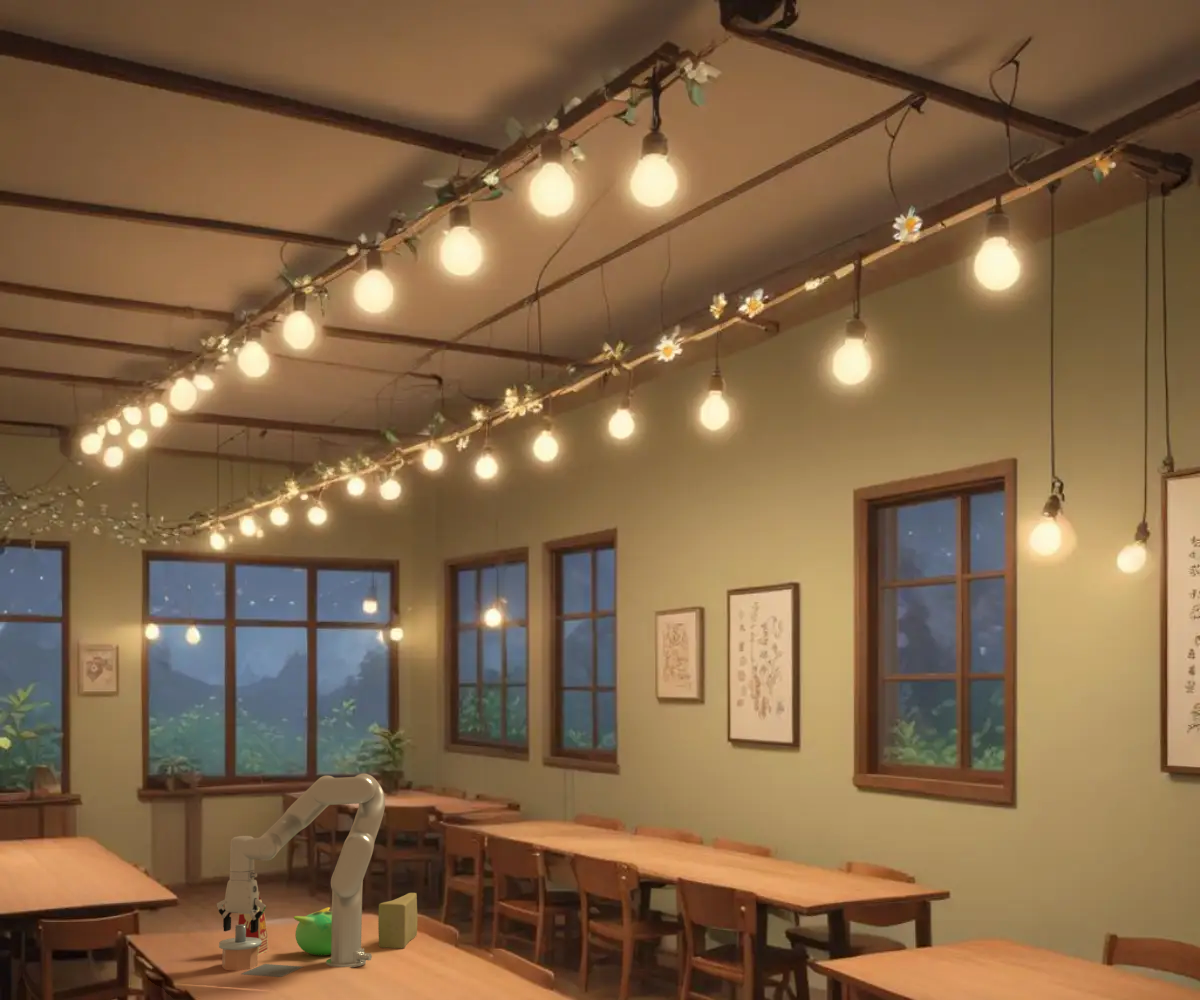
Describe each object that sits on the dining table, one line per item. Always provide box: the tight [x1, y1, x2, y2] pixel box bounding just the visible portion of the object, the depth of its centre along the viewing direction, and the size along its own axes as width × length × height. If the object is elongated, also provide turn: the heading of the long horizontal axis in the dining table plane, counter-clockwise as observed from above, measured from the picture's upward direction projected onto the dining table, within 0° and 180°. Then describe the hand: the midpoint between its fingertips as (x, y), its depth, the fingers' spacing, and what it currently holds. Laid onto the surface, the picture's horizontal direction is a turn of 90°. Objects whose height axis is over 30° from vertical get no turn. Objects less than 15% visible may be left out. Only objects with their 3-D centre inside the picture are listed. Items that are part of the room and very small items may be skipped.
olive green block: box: [377, 892, 418, 949], centre depth 455 cm, size 22×10×15 cm, turn 166°
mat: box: [241, 963, 303, 978], centre depth 411 cm, size 14×14×1 cm
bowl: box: [221, 947, 258, 971], centre depth 417 cm, size 10×10×7 cm
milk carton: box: [237, 891, 269, 956], centre depth 438 cm, size 9×9×20 cm
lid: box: [218, 924, 262, 950], centre depth 417 cm, size 13×13×6 cm
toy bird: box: [293, 906, 332, 956], centre depth 435 cm, size 18×17×15 cm
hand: (240, 931), depth 418 cm, fingers open, 9 cm apart
